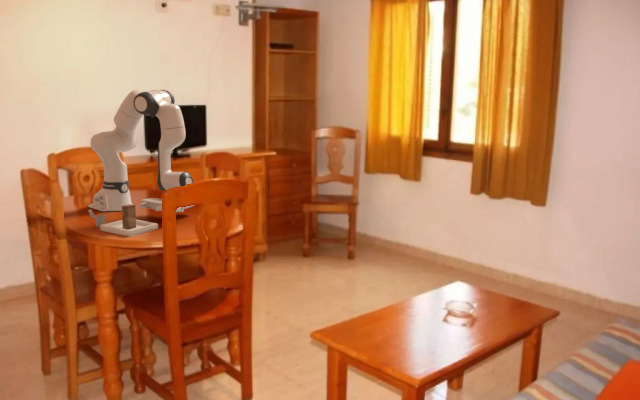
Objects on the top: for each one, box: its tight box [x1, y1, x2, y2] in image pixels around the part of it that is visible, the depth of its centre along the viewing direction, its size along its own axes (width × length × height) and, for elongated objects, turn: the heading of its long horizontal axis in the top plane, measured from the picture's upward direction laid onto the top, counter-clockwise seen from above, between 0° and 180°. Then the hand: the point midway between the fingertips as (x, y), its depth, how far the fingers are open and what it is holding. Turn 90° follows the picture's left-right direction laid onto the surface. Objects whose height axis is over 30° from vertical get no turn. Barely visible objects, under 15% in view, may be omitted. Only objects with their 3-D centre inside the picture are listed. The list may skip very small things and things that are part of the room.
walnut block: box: [121, 204, 137, 229], centre depth 260 cm, size 4×4×10 cm
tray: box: [99, 219, 159, 238], centre depth 261 cm, size 18×16×2 cm
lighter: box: [87, 208, 107, 228], centre depth 265 cm, size 7×2×8 cm, turn 122°
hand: (148, 207), depth 269 cm, fingers open, 8 cm apart
